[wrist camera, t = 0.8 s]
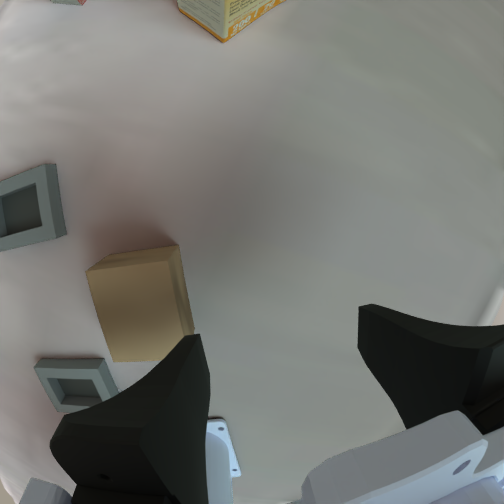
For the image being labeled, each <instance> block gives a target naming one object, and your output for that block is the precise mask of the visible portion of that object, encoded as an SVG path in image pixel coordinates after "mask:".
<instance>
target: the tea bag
mask: <svg viewBox="0 0 504 504" xmlns="http://www.w3.org/2000/svg"><path fill="white" fill-rule="evenodd" d="M51 1H52V2H53V3H60V4H72V5H83V4H84V2H85V1H86V0H51Z"/></svg>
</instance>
